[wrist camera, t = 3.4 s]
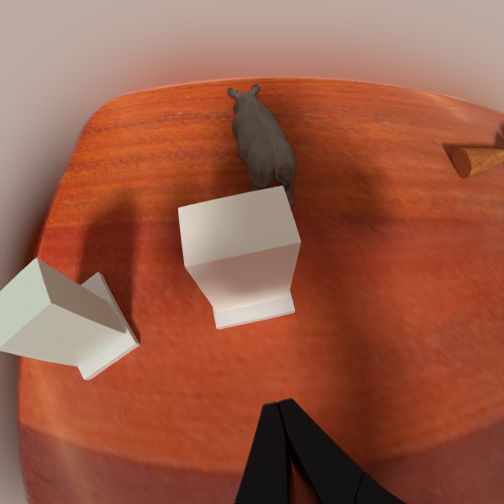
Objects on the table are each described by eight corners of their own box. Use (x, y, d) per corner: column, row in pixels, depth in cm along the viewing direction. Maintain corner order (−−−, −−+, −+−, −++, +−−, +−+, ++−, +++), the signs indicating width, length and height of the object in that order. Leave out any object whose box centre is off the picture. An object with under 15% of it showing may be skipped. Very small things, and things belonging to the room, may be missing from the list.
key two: (125, 334, 20) (50, 302, 12) (79, 366, 19) (-3, 350, 11) (107, 299, 21) (35, 254, 13) (64, 332, 20) (-14, 302, 12)
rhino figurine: (259, 107, 30) (257, 63, 25) (302, 208, 25) (310, 162, 20) (222, 115, 30) (215, 70, 25) (254, 220, 25) (251, 174, 19)
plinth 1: (140, 344, 21) (135, 343, 20) (89, 380, 20) (84, 379, 19) (102, 274, 23) (98, 271, 23) (57, 309, 22) (52, 307, 21)
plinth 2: (294, 312, 22) (295, 310, 21) (218, 329, 21) (216, 327, 21) (271, 228, 24) (271, 223, 24) (203, 243, 24) (201, 238, 23)
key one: (287, 297, 21) (301, 242, 13) (217, 312, 21) (184, 267, 13) (276, 256, 22) (281, 182, 14) (210, 270, 22) (177, 204, 14)
